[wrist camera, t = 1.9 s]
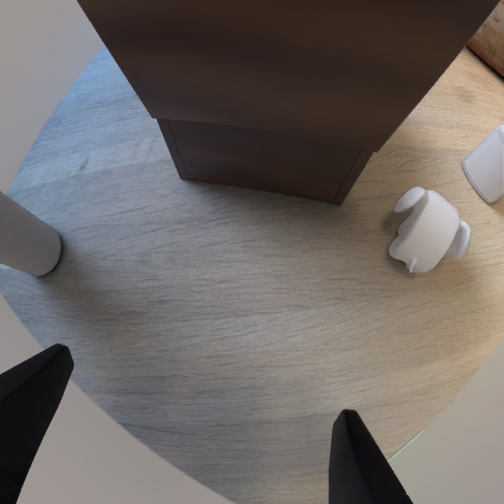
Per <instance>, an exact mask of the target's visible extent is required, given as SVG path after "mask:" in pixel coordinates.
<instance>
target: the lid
mask: <svg viewBox="0 0 504 504" xmlns="http://www.w3.org/2000/svg"><path fill="white" fill-rule="evenodd" d="M500 1H501V0H77V2H78V3H79V5H80V6H81V8H82V10H83V11H84V13H85V14H86V16H87V17H88V19H89V21H90V22H91V24H92V25H93V27H94V28H95V30H96V32H97V33H98V35H99V36H100V38H101V39H102V41H103V42H104V44H105V46H106V47H107V49H108V50H109V52H110V54H111V55H112V57H113V58H114V60H115V61H116V63H117V64H118V66H119V68H120V69H121V71H122V72H123V74H124V75H125V77H126V78H127V80H128V82H129V83H130V85H131V86H132V88H133V89H134V91H135V92H136V94H137V95H138V97H139V99H140V100H141V102H142V103H143V105H144V106H145V108H146V109H147V111H148V112H149V114H150V115H151V117H152V118H156V119H173V120H186V121H198V122H208V123H217V124H226V125H234V126H242V127H249V128H256V129H263V130H269V131H276V132H282V133H287V134H293V135H299V136H304V137H309V138H314V139H319V140H324V141H329V142H333V143H338V144H342V145H347V146H351V147H355V148H359V149H363V150H367V151H371V152H375V153H377V152H378V151H379V149H380V148H381V147H382V146H383V145H384V144H385V142H386V141H387V140H388V139H389V138H390V137H391V135H392V134H393V133H394V132H395V131H396V130H397V128H398V127H399V126H400V125H401V124H402V123H403V121H404V120H405V119H406V118H407V117H408V115H409V114H410V113H411V112H412V111H413V109H414V108H415V107H416V106H417V105H418V103H419V102H420V101H421V100H422V99H423V97H424V96H425V95H426V94H427V93H428V91H429V90H430V89H431V88H432V87H433V85H434V84H435V83H436V82H437V81H438V79H439V78H440V77H441V76H442V74H443V73H444V72H445V71H446V70H447V68H448V67H449V66H450V65H451V63H452V62H453V61H454V60H455V58H456V57H457V56H458V55H459V53H460V52H461V51H462V50H463V48H464V47H465V46H466V45H467V43H468V42H469V41H470V40H471V38H472V37H473V36H474V35H475V33H476V32H477V31H478V29H479V28H480V27H481V26H482V24H483V23H484V22H485V20H486V19H487V18H488V17H489V15H490V14H491V13H492V11H493V10H494V9H495V7H496V6H497V5H498V4H499V2H500Z"/></svg>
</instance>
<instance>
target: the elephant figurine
mask: <svg viewBox="0 0 504 504" xmlns="http://www.w3.org/2000/svg"><path fill="white" fill-rule="evenodd" d="M412 207H413V208H414V210H413V211H412V213H411V214H410V215H409V216H408V217H407V219H406V220H405V221H404V222H403V223H402V224H401V225H400V227H399V229H398V234H399V236H398V237H397V238H395V239H394V240H393V242H392V243H391V245H390V246H389V250H388V251H389V254H390V256H391V257H393V258H395V259H398V260H401V261H404V262H405V264H406V267H407V268H408V269H409V270H410V273H412V272H415V273H425V272H428V271H429V270H431V269H432V268H434V267H435V266H436V265H437V264H438V263H439V261H440V260H441V259H442V258H443V256H444V255H445V253H446V252H447V250H448V251H449V252H450V253H451V254H452V255H453V257H454V258H456V259H461V258H462V257H463V256H464V255H465V253H466V251H467V249H468V246H469V243H470V238H471V229H470V226H469V225H468V224H466V223H465V222H464V221H463V220H462V219H461V217H460V214H459V212H458V210H457V209H456V208H455V207H454V206H453V205H452V204H450V203H449V202H448V201H446V200H445V199H444V198H443V197H442V196H441V195H439V194H438V193H437V192H435V191H431V190H429V191H427V190H425V189H424V188H421V187H414V188H412V189H410V190H408V191H407V192H406V193H405V194H404V195H403V196H401V197H400V198H399V200H398V201H397V202H396V204H395V206H394V211H396V212H403V211H405V210H408V209H410V208H412Z"/></svg>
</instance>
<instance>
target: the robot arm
mask: <svg viewBox="0 0 504 504" xmlns="http://www.w3.org/2000/svg"><path fill="white" fill-rule="evenodd" d="M73 368H74V362H73V359H72V356H71V353H70V350H69V348H68V347H67V346H65V345H62V344H55V345H53V346H51V347H49V348H48V349H46V350H44V351H42V352H40V353H38V354H37V355H35V356H33V357H31V358H29V359H27V360H26V361H24V362H22V363H20V364H18V365H16V366H15V367H13V368H11V369H9V370H7V371H6V372H4V373H2V374H0V504H16V502H17V500H18V497H19V494H20V492H21V488H22V486H23V484H24V481H25V479H26V476H27V474H28V471H29V469H30V467H31V464H32V462H33V460H34V457H35V455H36V453H37V451H38V448H39V446H40V444H41V442H42V440H43V437H44V435H45V433H46V431H47V429H48V427H49V425H50V423H51V420H52V418H53V416H54V414H55V412H56V410H57V408H58V406H59V404H60V401H61V399H62V397H63V394H64V391H65V389H66V386H67V383H68V381H69V378H70V376H71V373H72V371H73ZM329 504H413V502H412V501H411V499H410V498H409V496H408V495H406V491H405V489H404V488H403V486H402V485H401V483H400V482H399V480H398V478H397V477H396V475H395V473H394V471H393V470H392V468H391V467H390V465H389V463H388V462H387V460H386V458H385V457H384V455H383V454H382V452H381V450H380V449H379V447H378V445H377V444H376V442H375V440H374V439H373V437H372V436H371V434H370V432H369V431H368V429H367V427H366V426H365V424H364V423H363V421H362V419H361V418H360V416H359V414H358V413H357V412H356V411H355V410H348V409H344V410H342V411H341V413H340V414H339V416H338V418H337V419H336V421H335V422H334V425H333V430H332V441H331V451H330V461H329Z"/></svg>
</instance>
